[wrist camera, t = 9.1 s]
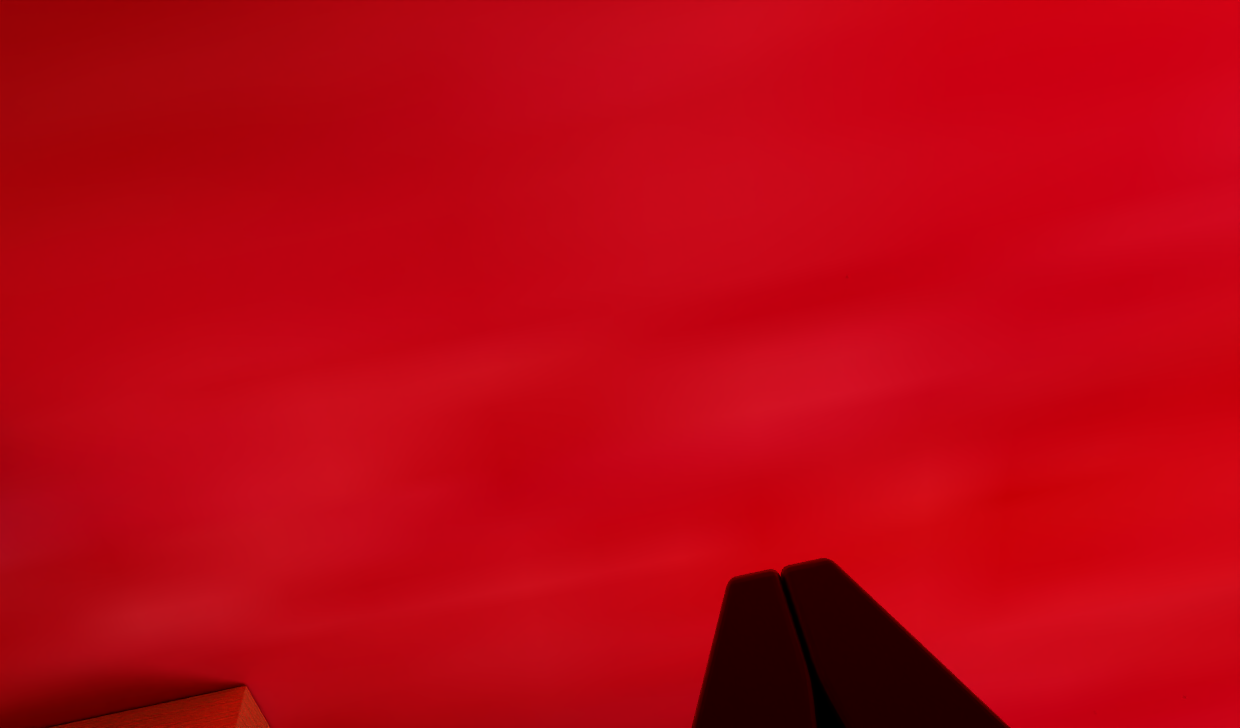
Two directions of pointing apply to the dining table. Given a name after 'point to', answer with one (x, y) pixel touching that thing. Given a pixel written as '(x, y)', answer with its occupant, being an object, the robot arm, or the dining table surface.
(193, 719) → the mount cradle
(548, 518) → the dining table surface
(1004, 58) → the dining table surface
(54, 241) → the dining table surface
